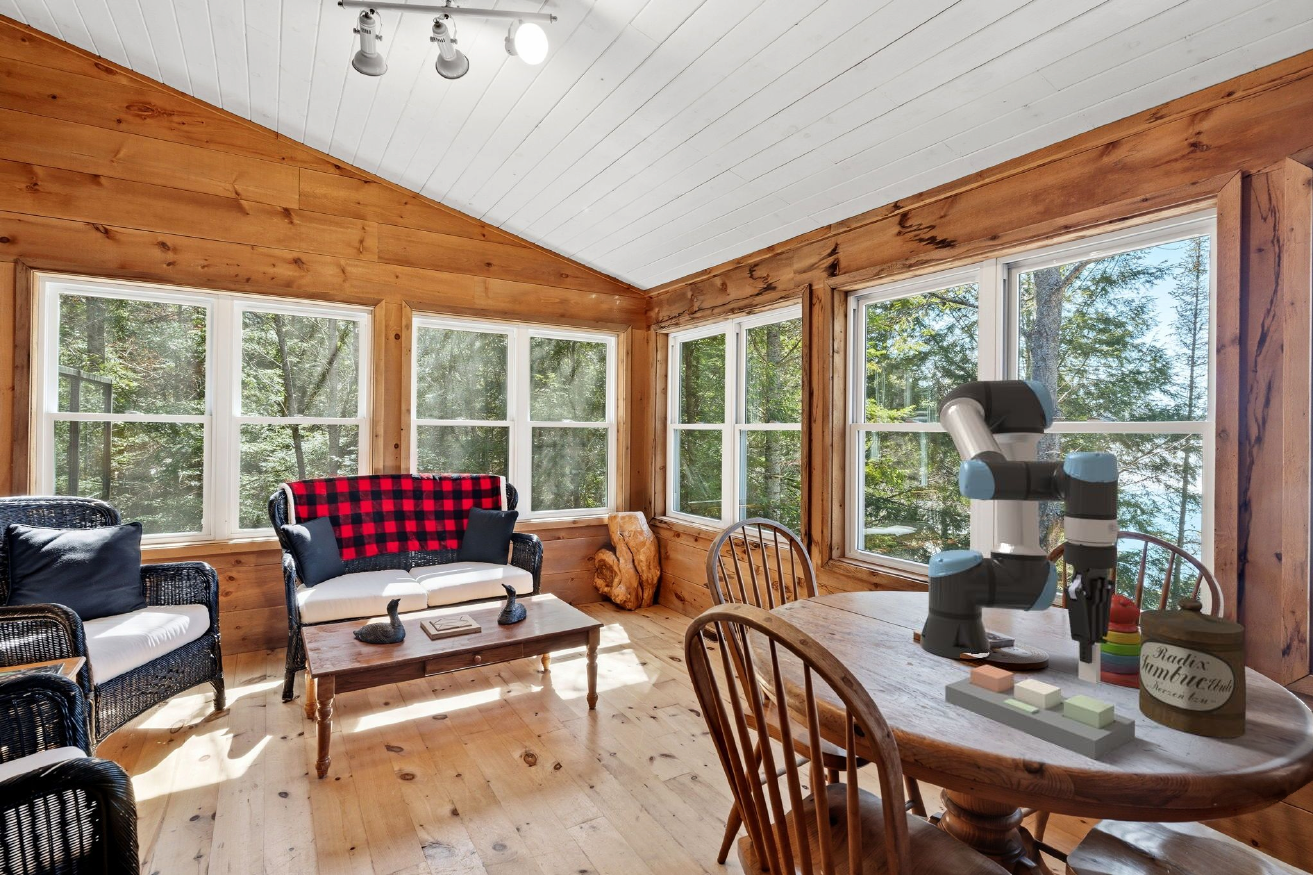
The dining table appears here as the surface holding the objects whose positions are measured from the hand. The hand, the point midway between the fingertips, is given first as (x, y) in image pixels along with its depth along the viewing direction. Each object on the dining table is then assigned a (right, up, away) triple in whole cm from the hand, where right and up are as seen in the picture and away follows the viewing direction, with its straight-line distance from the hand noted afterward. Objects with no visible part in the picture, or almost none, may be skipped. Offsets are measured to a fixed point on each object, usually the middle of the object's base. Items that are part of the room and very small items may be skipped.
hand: (1089, 680), depth 109 cm
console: (-5, -10, +7) cm, 13 cm away
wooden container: (+23, -10, +7) cm, 26 cm away
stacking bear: (+24, -10, +26) cm, 37 cm away
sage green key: (0, -7, 0) cm, 7 cm away
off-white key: (-4, -7, +7) cm, 11 cm away
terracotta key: (-9, -7, +15) cm, 18 cm away
